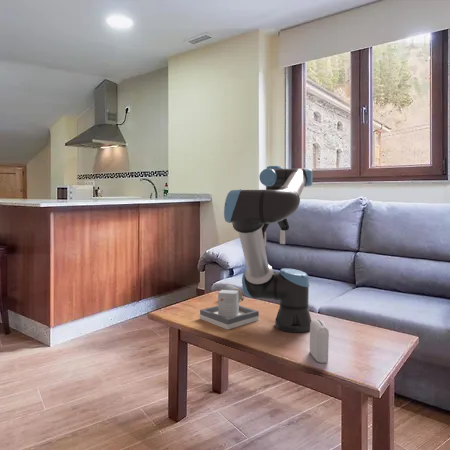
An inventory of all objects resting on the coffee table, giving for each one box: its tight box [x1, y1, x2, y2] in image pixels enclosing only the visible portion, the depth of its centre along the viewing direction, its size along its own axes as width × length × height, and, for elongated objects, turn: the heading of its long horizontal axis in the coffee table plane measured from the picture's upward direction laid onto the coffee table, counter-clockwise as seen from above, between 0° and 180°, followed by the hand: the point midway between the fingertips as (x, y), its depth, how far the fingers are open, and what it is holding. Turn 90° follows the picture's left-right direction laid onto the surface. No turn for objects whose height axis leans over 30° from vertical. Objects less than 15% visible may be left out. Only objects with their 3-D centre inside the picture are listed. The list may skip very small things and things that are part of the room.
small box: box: [217, 289, 240, 317], centre depth 165 cm, size 8×6×10 cm
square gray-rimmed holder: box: [199, 304, 260, 330], centre depth 166 cm, size 18×18×4 cm
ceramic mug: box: [222, 284, 245, 301], centre depth 197 cm, size 11×8×8 cm
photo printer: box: [309, 318, 330, 364], centre depth 128 cm, size 10×4×12 cm, turn 3°
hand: (273, 245), depth 180 cm, fingers open, 13 cm apart
